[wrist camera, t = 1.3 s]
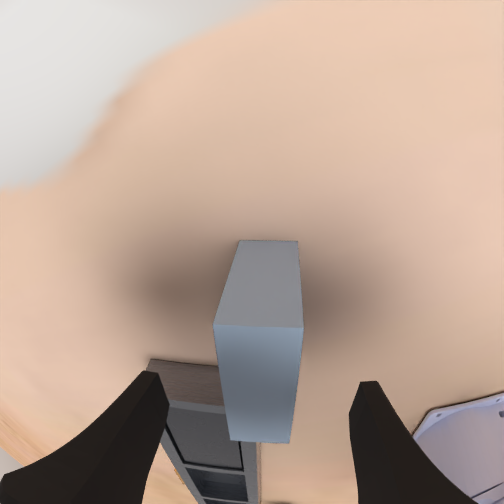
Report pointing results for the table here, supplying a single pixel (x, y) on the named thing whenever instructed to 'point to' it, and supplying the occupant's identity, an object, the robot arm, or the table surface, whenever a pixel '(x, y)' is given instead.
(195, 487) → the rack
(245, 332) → the blue-grey block
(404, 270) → the table surface
